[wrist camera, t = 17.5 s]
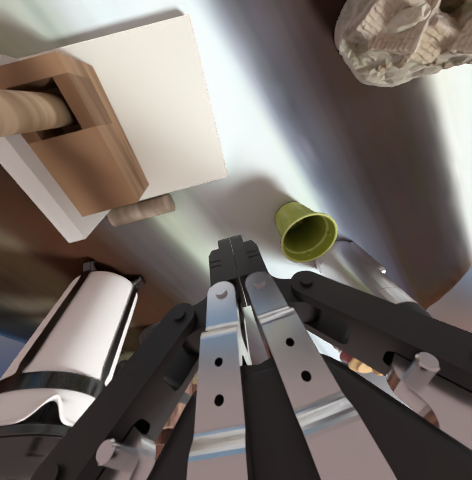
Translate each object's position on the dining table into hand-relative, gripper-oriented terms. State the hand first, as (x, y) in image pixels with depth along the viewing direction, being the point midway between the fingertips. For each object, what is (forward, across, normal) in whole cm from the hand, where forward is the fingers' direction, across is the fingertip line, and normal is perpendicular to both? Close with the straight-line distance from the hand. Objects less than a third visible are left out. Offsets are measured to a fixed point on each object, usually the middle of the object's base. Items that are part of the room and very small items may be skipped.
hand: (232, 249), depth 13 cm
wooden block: (+23, +13, +5) cm, 27 cm away
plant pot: (+23, -12, +13) cm, 29 cm away
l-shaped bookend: (+23, +8, -7) cm, 26 cm away
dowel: (+19, +14, -10) cm, 26 cm away
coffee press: (+23, +28, +19) cm, 41 cm away
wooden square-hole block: (+22, +14, -7) cm, 26 cm away
